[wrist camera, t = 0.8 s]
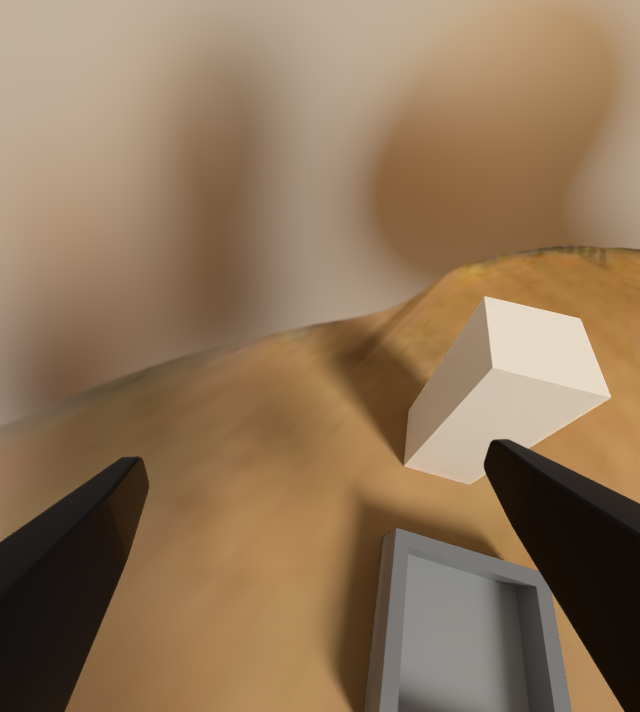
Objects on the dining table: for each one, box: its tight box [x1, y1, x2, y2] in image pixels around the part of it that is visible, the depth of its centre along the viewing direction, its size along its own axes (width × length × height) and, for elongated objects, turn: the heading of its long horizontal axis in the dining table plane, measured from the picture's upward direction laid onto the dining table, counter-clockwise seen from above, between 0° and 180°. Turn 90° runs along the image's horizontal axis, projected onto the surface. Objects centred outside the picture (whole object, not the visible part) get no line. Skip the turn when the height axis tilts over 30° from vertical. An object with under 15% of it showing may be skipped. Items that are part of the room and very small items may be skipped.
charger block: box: [404, 296, 611, 485], centre depth 20 cm, size 5×5×13 cm
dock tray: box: [364, 528, 572, 712], centre depth 17 cm, size 9×9×3 cm
